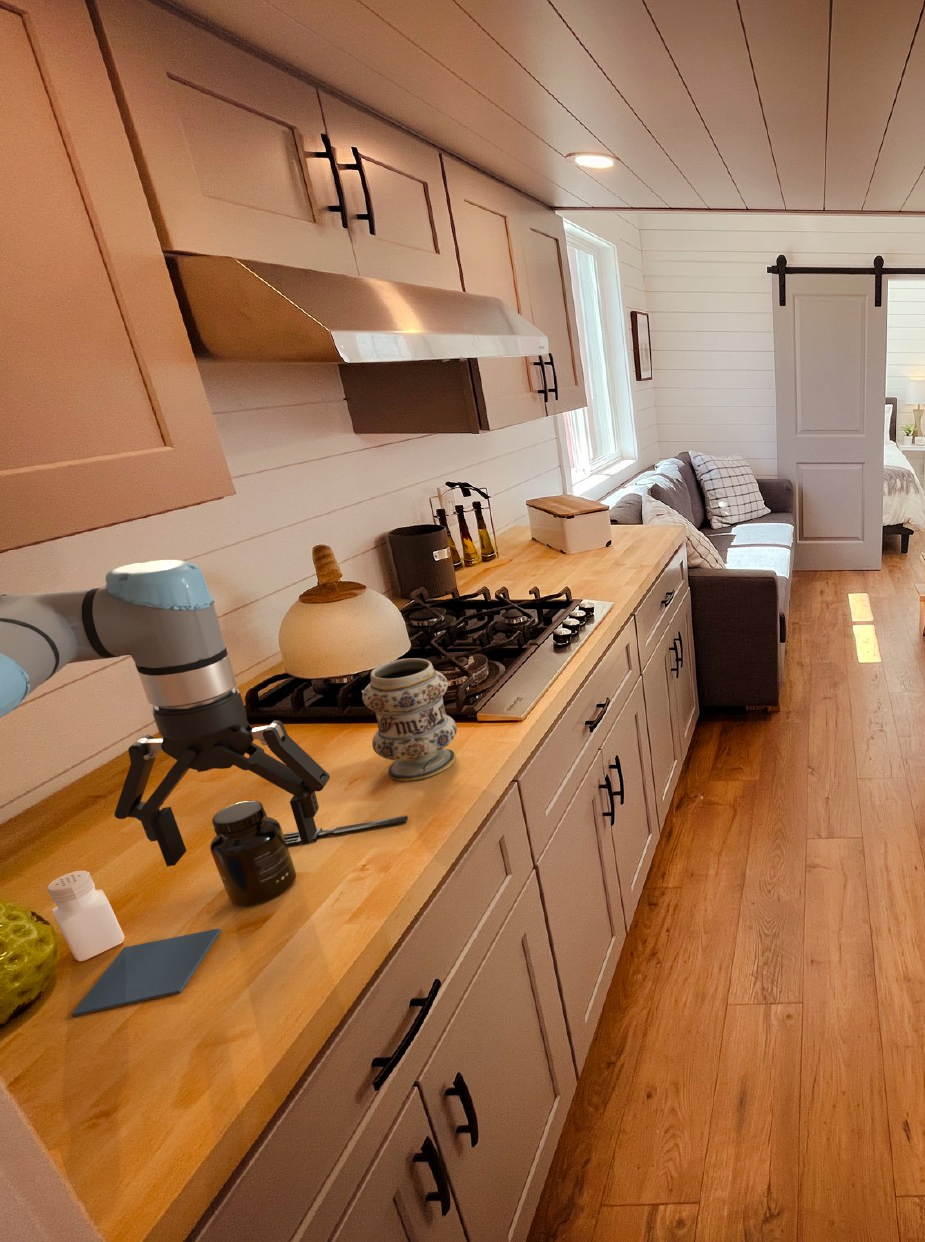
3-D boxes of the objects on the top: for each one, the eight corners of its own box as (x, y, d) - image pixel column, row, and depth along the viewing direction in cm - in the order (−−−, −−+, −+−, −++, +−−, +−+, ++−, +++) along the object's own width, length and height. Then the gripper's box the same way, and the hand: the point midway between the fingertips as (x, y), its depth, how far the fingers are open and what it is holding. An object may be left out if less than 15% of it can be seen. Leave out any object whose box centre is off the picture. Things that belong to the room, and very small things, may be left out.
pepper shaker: (119, 926, 81) (89, 862, 78) (127, 942, 79) (97, 877, 75) (70, 948, 78) (38, 883, 75) (78, 965, 76) (44, 898, 72)
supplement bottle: (215, 905, 84) (183, 826, 80) (265, 867, 91) (238, 792, 86) (263, 911, 83) (234, 831, 79) (311, 873, 90) (286, 797, 86)
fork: (265, 850, 94) (264, 847, 94) (272, 838, 96) (271, 835, 96) (404, 826, 99) (404, 823, 99) (408, 815, 101) (408, 812, 101)
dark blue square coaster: (72, 1017, 70) (70, 1014, 70) (125, 949, 78) (124, 947, 78) (180, 993, 73) (179, 990, 72) (220, 930, 81) (219, 928, 80)
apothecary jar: (479, 751, 118) (460, 657, 112) (423, 790, 107) (399, 689, 101) (421, 741, 121) (400, 649, 115) (362, 779, 110) (335, 679, 104)
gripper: (334, 670, 84) (369, 812, 92) (75, 694, 77) (136, 848, 84) (313, 696, 78) (352, 847, 85) (27, 726, 70) (97, 889, 77)
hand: (245, 848), depth 84 cm, fingers open, 13 cm apart
